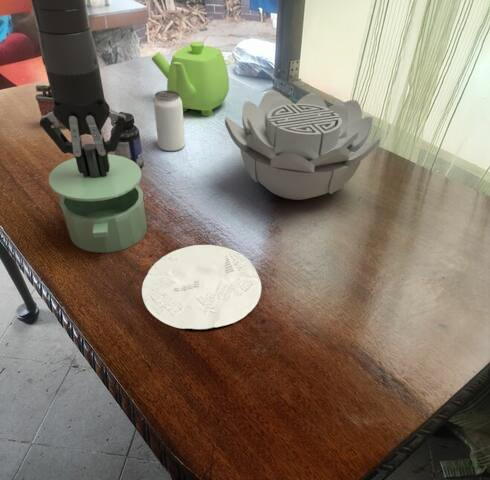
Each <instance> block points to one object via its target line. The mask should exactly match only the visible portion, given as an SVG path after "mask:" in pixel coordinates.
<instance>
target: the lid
mask: <svg viewBox="0 0 490 480" xmlns="http://www.w3.org/2000/svg"><path fill="white" fill-rule="evenodd" d="M82 149H83V153H84V158H85V162H86V167H87V171H88V176H87V177H84V176H83V173H80V172H79V171H78V166H77V162H76V158H75V157H73V158H69V159H67V160H65V161H63V162H61V163H59V164H58V165H57V166H55V167H54V168H53V169H52V170H51V171H50V173H49V176H48V185H49V187H50V189H51V190H52V191H53V192H54V194H56V195H58V196H60V197H61V196H62V197H65V198H68V199H72V200H77V201H101V200H107V199H112V198H115V197H118V196H121V195H123V194H125V193H128V192H129V191H131V190H132V189H134V188H135V187H136V186H137V185H138V186H139V184H140V182H141V180H142V170H141V169H142V168H140V167H139V166H138V165H137V164H136V163H135V162H133V161H132V160H130V159H128V158H125V157H122V156H118V155H115V154H110V153H108V159H109V165H110V167H109V172H107V173H106V176H102V174H101V169H100V164H99V159H98V151H97V148H96V145H95V143H86V144H83V145H82Z"/></svg>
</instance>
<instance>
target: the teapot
mask: <svg viewBox="0 0 490 480" xmlns="http://www.w3.org/2000/svg"><path fill="white" fill-rule="evenodd" d="M151 61H152V62H153V63H154V64H155V66H156V67H157V68H158V69H159V71H160V72H161V74H163V76H164V77H165V78H166V79H167V82H166V90H171V91H176V92H178V93H179V94H180V98H181V100H182V108H183V112H186V111H187V110H188V109H190V110H195V111H196V110H197V111H200V113H201V115H202V116H204V117H210V116H213V114H214V113H213V110H214V109H216V108H218V107H219V106H222V105H223V103H224V101H225V99H226V98H227V96H228V93H229V90H230V79H229V72H228V67H227V64H226V60H225V58H224V55H223V52H222V50H221V48H216V47H213V46H211V45H205V43H203V42H201V41H191V42H190V43H189V44H188V45H186V46H183V47H180V48H179V49H177V50H176V51H175V52H174V53H173V55H172V57H171V60H170V63H169V62H168V61H167V59H166V58H165V57H164V55H162V53H161V52H160V51H158V52H157V53H155V54H154V55H153V56H152V58H151Z"/></svg>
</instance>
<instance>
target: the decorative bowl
mask: <svg viewBox="0 0 490 480" xmlns="http://www.w3.org/2000/svg"><path fill="white" fill-rule="evenodd" d="M241 115H242V119H241V122H242V126H243V127H242V126H240V125H238V123H236V122H234V121H233V120H232V119H230V118H229V117H228V116H226V117H224V119H225V120H224V126H225V127H226V130H227V132H228V134H229V137H230V138H231V140H232V141H233V143H234V144H235V145H236V147H238V149H239V150H240V155H241V159H242V161H243V165H244V167H245V170H246V171H247V173H248V174H249V176H250V177H251V179H252V180H254V182H255V183H256V184H257V183H260V185H262V186H263V187H264V188H266V189H267V190H268V191H269V192H270V193H272V194H273V195H276V196H277V197H281V198H284V199H289V200H297V201H298V200H299V201H300V200H307V199H311V198H315V197H320V196H323V195H325V194H328V193H329V194H330V195H332V194H333V193H335V192H337V191H338V190H340V189H341V188H342V187H344V186H345V185H346V184H347V183H348V182H349V181H350V180H351V178H352V177H353V176H354V174H355V173H356V172H357V170H358V168H359V166H360V164H361V162H362V161H363V160H364V159H366V158H367V157H368V156H369V155H370V154H371V153H372V152H374V151H375V150H376V148H377V147H379V146H380V142H381V139H382V137H379V138H377V139H376V140H373V141H370V142H369V143H368V142H367V143H366V141H367V140H368V138H369V136H370V133H371V131H372V130H371V129H372V126H373V121H374V117H373V116H366V117H363V118H362V115H363V114H362V107H361V105H360V103H359V101H358V100H357V99H350V100H347V101H344V102H342V103H335V104H332V105H330V106H327V103H326V102H325V100H324V98H322V97H321V95H319V94H318V93H316V92H310V93H307V94H305V95H304V96H302V97H301V98H300V99H299V100H298V101H296V103H294V102H293V101H291V100H290V98H288V97H285V95H283V94H282V93H280V91H277V90H274V89H270V90H268V91H267V92H266V93H265V94H264V95H263V97H262V98H261V100H260V102H259V104H258V105H256V104H255V103H253V102H252V101H247V100H246V101H244V103H243V106H242V114H241ZM365 143H366V144H365Z"/></svg>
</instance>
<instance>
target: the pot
mask: <svg viewBox="0 0 490 480" xmlns="http://www.w3.org/2000/svg"><path fill="white" fill-rule="evenodd" d="M58 204H59V207H60V211H61V214H62V217H63V221H64V225H65V227H66V231H67V234H68V236H69V239H70V241H71V242H72V243H73V244H74V246H76V247H78V248H79V249H81V250H83V251H85V252H90V253H98V254H100V253H101V254H105V253H115V252H121V251H123V250H126V249H129V248H131V247H133V246H135V245H136V244H138V243H139V242H141V241H142V240H143V238H144V237H145V236H146V234H147V231H148V219H147V212H146V205H145V199H144V192H143V190H142V189H141V187H140V186H139V184H138V185H137V186H136V187H135V188H134V189H132V190H131V191H129V192H128V193H125V194H123V195H121V196H118V197H115V198H112V199H107V200H101V201H77V200H72V199H68V198H65V197H62V196H60V198H59V203H58Z"/></svg>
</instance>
